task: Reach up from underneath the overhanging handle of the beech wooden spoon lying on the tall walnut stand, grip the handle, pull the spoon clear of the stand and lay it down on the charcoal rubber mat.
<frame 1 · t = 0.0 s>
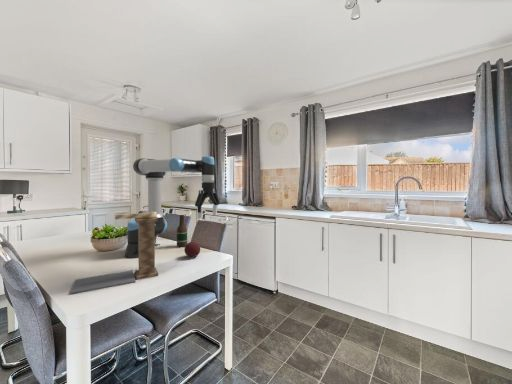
hand: (207, 216, 146), 28 cm above the table, tool pointing down, fingers open, 13 cm apart
beer bottle: (182, 246, 180), on the table
wine glass: (155, 245, 183), on the table
spoon: (149, 217, 125), point 30 cm above the table, touching stand
stand: (146, 274, 125), on the table
decorative ball: (192, 257, 155), on the table
mat: (105, 281, 116), on the table
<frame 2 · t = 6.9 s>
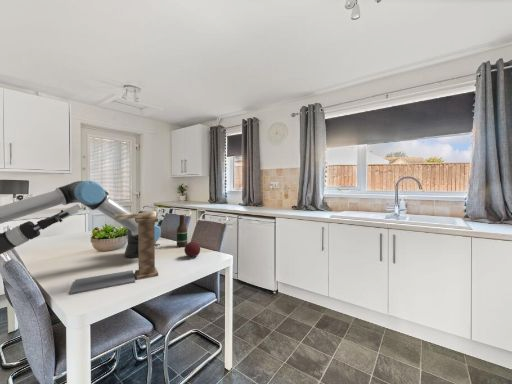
hand: (78, 207, 111), 37 cm above the table, tool pointing upward, fingers open, 13 cm apart
nothing on the table moved.
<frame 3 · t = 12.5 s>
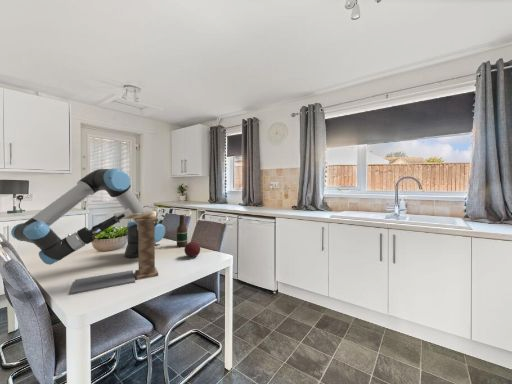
hand: (130, 210, 120), 34 cm above the table, tool pointing upward, fingers closed on spoon, 2 cm apart
spoon: (149, 217, 125), point 30 cm above the table, touching gripper, stand
everything else where it was.
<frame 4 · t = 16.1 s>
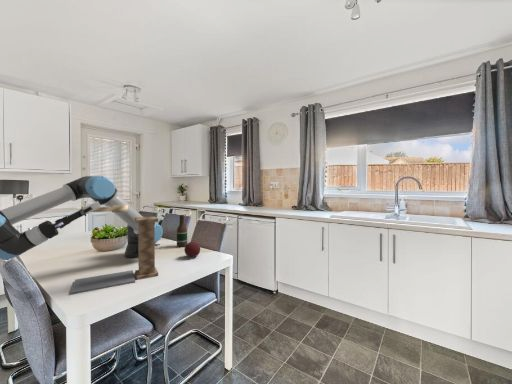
hand: (99, 203, 113), 38 cm above the table, tool pointing upward, fingers closed on spoon, 2 cm apart
spoon: (120, 211, 118), point 34 cm above the table, touching gripper
everything else where it was.
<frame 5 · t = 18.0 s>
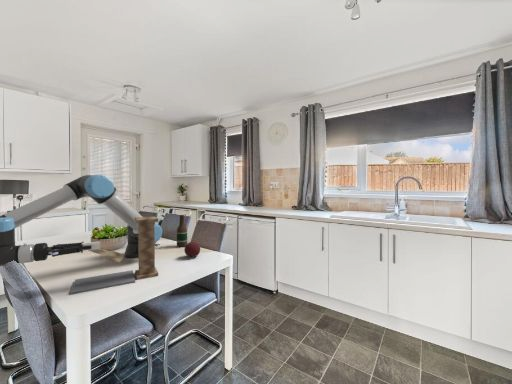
hand: (100, 244, 114), 18 cm above the table, tool horizontal, fingers closed on spoon, 2 cm apart
spoon: (113, 259, 117), point 11 cm above the table, tilted 29°, touching gripper
everything else where it was.
when the fingers open (11 cm above the table, at t = 19.9 s): spoon drops 2 cm, resting on mat.
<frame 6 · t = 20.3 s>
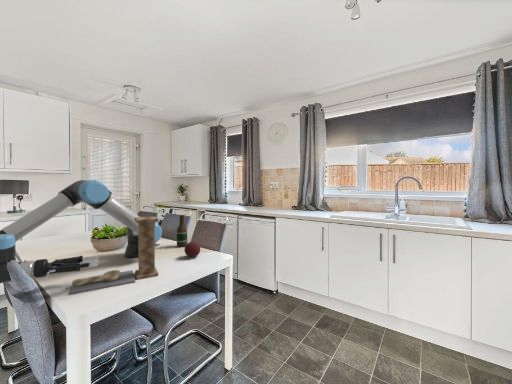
hand: (98, 260, 114), 11 cm above the table, tool horizontal, fingers open, 8 cm apart
spoon: (111, 278, 117), point 1 cm above the table, touching mat
everything else where it was.
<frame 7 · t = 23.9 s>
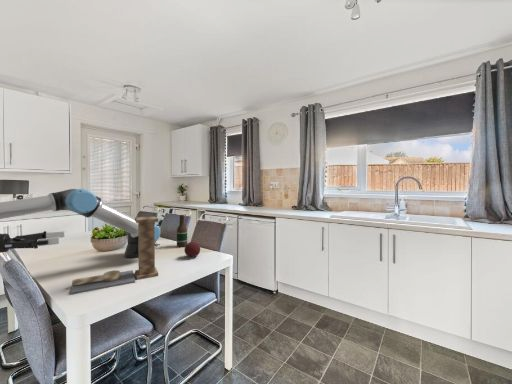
hand: (61, 237, 106), 24 cm above the table, tool horizontal, fingers open, 13 cm apart
nothing on the table moved.
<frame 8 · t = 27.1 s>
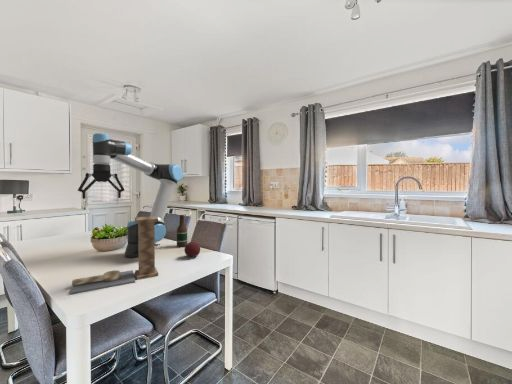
hand: (102, 204, 124), 37 cm above the table, tool pointing down, fingers open, 13 cm apart
nothing on the table moved.
at the end: spoon touching mat; spoon point 0.8 cm above the table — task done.
